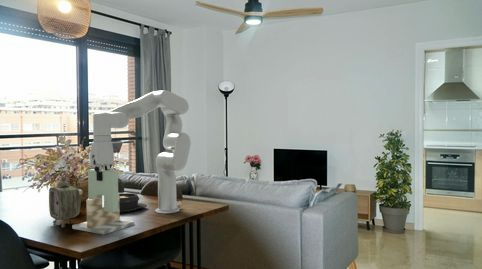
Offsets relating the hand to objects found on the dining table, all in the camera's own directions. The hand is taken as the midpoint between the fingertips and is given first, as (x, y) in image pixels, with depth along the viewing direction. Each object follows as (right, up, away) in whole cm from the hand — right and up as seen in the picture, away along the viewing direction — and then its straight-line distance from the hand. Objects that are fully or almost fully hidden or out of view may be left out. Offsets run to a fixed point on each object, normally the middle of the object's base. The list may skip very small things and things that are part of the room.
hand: (102, 179), depth 175 cm
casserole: (-1, -21, +33) cm, 39 cm away
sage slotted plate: (0, -14, 0) cm, 14 cm away
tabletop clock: (-19, -22, +5) cm, 29 cm away
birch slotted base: (0, -21, +1) cm, 21 cm away
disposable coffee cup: (-26, -21, +29) cm, 45 cm away
